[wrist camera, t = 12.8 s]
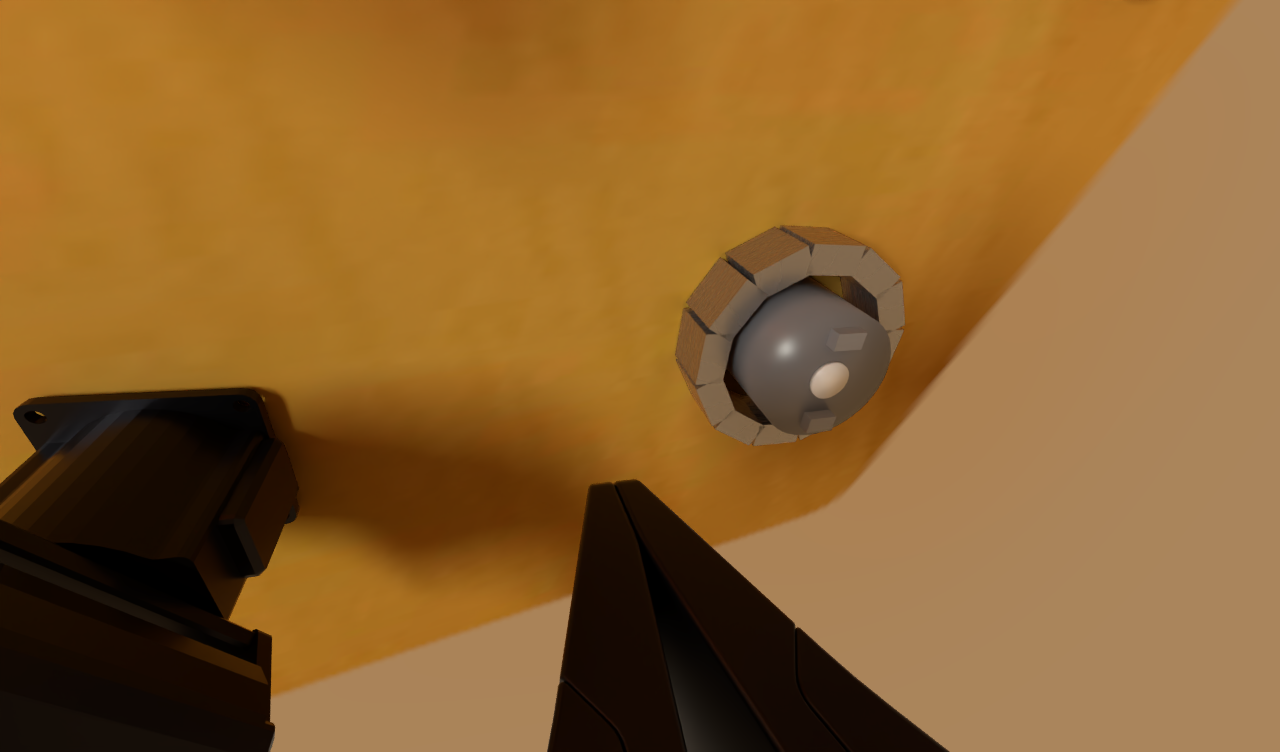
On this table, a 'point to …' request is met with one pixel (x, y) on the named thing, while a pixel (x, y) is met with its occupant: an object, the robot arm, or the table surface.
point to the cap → (809, 358)
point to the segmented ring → (742, 290)
